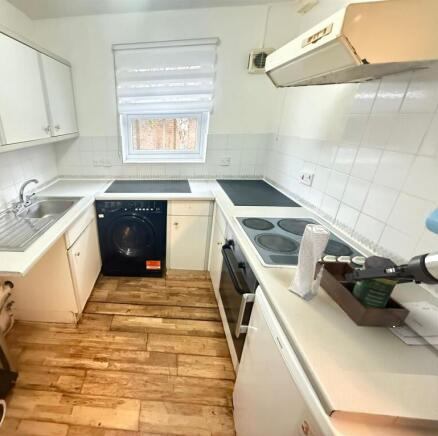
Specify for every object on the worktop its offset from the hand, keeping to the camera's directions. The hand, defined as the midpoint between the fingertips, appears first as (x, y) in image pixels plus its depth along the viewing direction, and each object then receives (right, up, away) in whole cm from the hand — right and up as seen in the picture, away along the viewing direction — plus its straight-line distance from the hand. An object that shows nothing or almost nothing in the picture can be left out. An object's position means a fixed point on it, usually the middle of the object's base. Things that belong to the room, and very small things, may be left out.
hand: (368, 279), depth 78 cm
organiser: (0, -9, +8) cm, 12 cm away
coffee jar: (0, -10, +2) cm, 11 cm away
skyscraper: (-16, -8, +11) cm, 21 cm away
